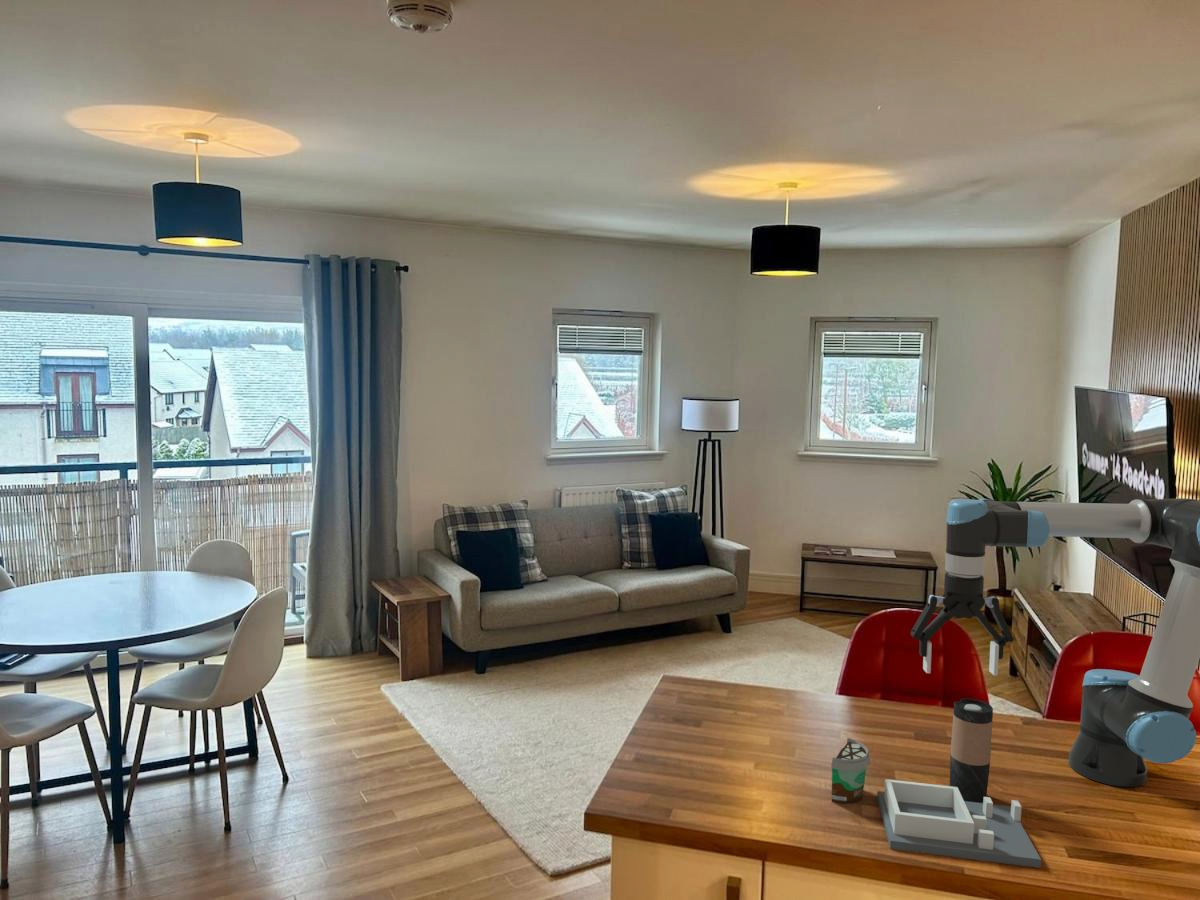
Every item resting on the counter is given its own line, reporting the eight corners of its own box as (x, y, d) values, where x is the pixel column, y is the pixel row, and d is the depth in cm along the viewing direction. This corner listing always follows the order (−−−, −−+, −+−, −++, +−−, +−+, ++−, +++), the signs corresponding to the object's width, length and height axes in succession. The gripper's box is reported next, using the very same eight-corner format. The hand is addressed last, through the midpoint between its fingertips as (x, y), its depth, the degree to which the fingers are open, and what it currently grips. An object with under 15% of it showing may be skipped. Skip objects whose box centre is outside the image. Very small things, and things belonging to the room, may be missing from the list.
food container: (859, 814, 167) (862, 766, 166) (829, 805, 170) (831, 758, 169) (874, 788, 177) (877, 744, 176) (846, 780, 181) (848, 736, 180)
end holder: (956, 805, 168) (957, 787, 167) (972, 843, 154) (974, 823, 154) (884, 797, 170) (885, 778, 170) (894, 834, 157) (895, 814, 156)
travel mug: (991, 807, 170) (998, 714, 169) (952, 803, 172) (958, 710, 170) (982, 789, 178) (988, 700, 176) (944, 785, 179) (950, 696, 178)
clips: (1016, 815, 165) (1017, 800, 164) (1040, 855, 151) (1041, 840, 150) (961, 808, 167) (962, 794, 167) (979, 848, 153) (980, 832, 152)
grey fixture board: (1010, 814, 168) (1011, 806, 168) (1040, 868, 150) (1041, 859, 149) (877, 798, 173) (877, 791, 173) (890, 848, 155) (890, 840, 155)
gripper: (1018, 570, 175) (1013, 668, 177) (898, 567, 177) (894, 664, 179) (1034, 579, 168) (1028, 680, 170) (907, 576, 170) (904, 676, 172)
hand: (959, 672), depth 174 cm, fingers open, 13 cm apart
